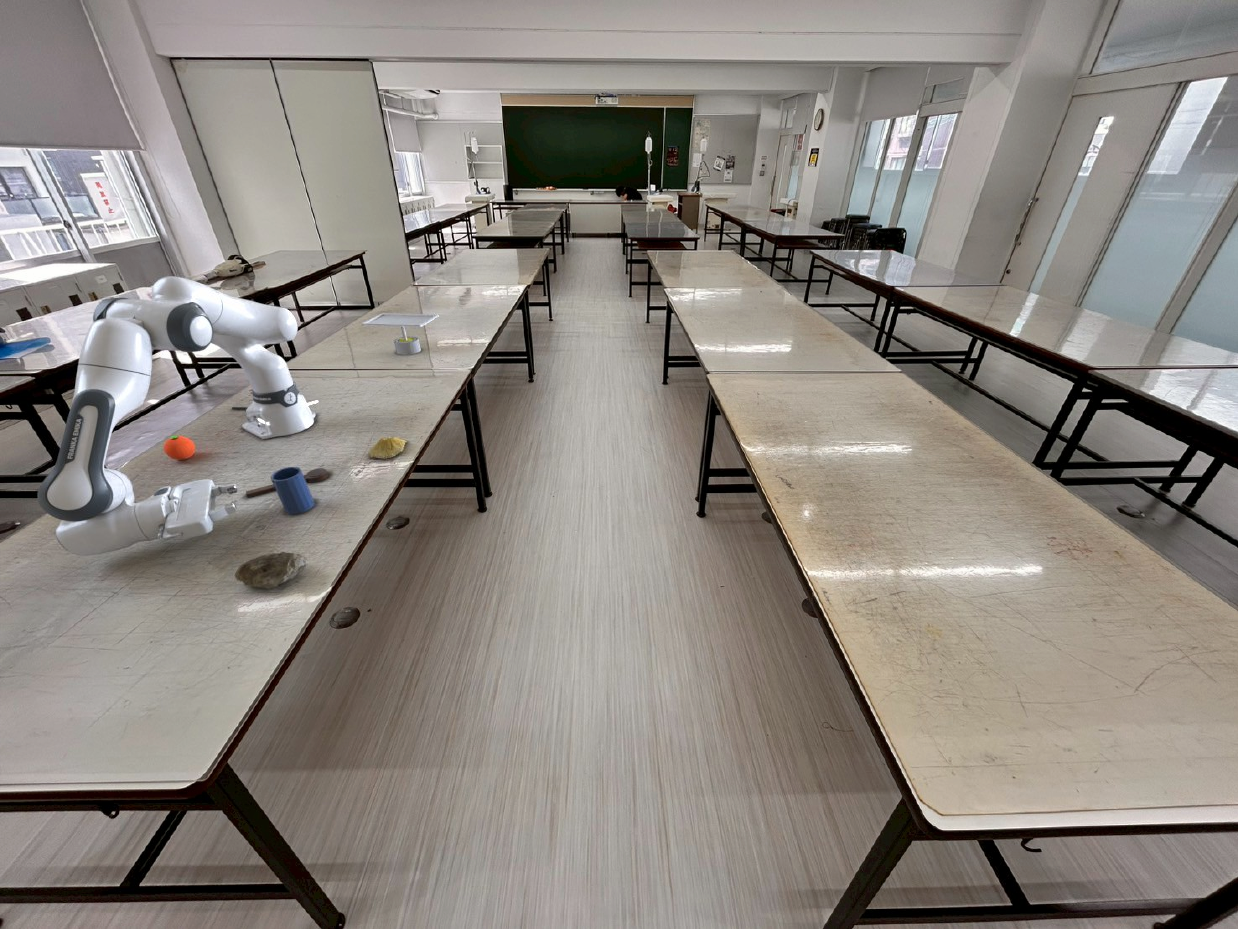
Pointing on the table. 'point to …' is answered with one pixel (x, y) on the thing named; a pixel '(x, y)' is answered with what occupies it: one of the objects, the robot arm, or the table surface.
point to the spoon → (311, 476)
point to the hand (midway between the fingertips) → (236, 497)
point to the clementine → (179, 447)
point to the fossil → (387, 448)
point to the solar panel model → (402, 320)
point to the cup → (292, 490)
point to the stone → (271, 569)
